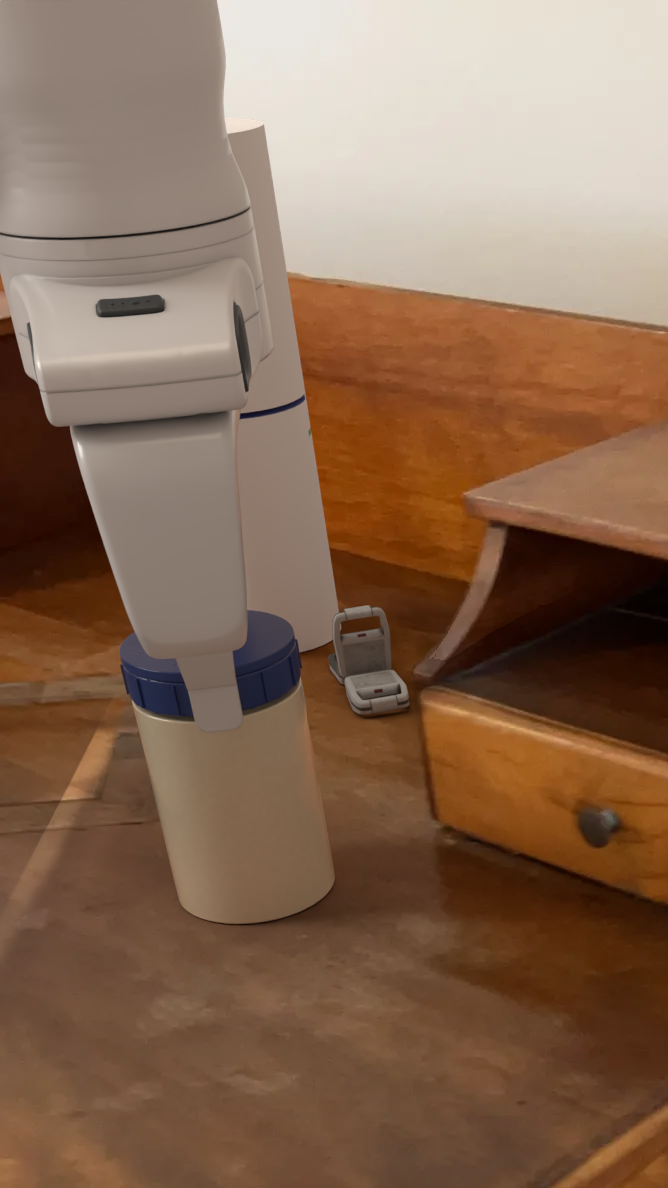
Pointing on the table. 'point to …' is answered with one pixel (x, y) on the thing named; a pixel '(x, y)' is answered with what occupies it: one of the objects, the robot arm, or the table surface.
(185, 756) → the jar
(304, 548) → the cylindrical container
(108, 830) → the table surface
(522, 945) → the table surface
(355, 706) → the strap clip
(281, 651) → the lid
